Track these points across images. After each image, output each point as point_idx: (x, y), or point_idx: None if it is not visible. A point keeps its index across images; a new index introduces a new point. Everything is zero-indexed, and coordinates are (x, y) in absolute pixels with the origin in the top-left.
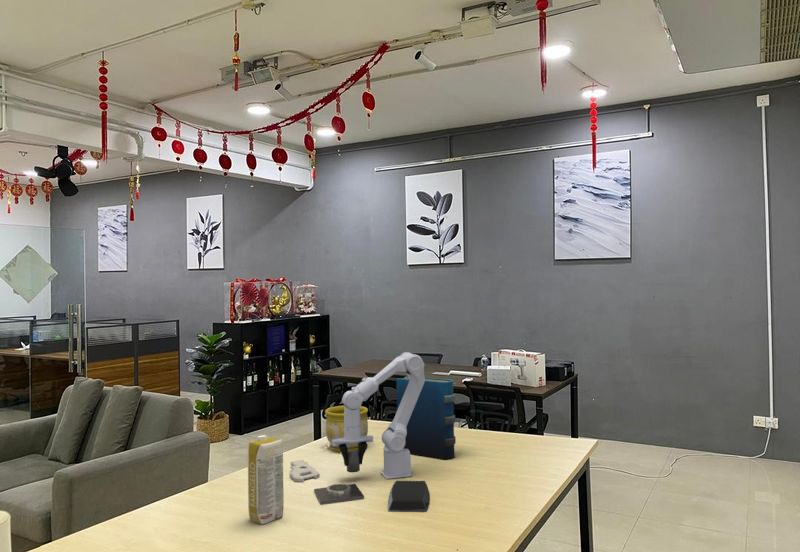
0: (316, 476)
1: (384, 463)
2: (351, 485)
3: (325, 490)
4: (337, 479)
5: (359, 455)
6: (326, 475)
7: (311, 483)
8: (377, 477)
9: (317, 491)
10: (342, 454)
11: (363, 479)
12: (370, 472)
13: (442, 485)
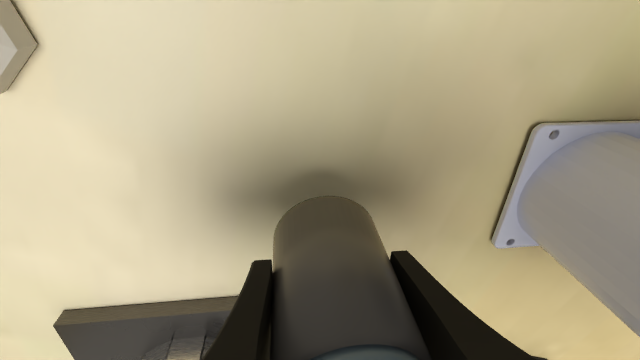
0: (3, 83)
1: (578, 246)
2: None
3: (129, 349)
4: (210, 155)
5: (421, 331)
6: (108, 18)
7: (2, 179)
8: (467, 195)
9: (83, 353)
10: (216, 355)
11: (378, 204)
12: (483, 82)
13: (617, 338)
